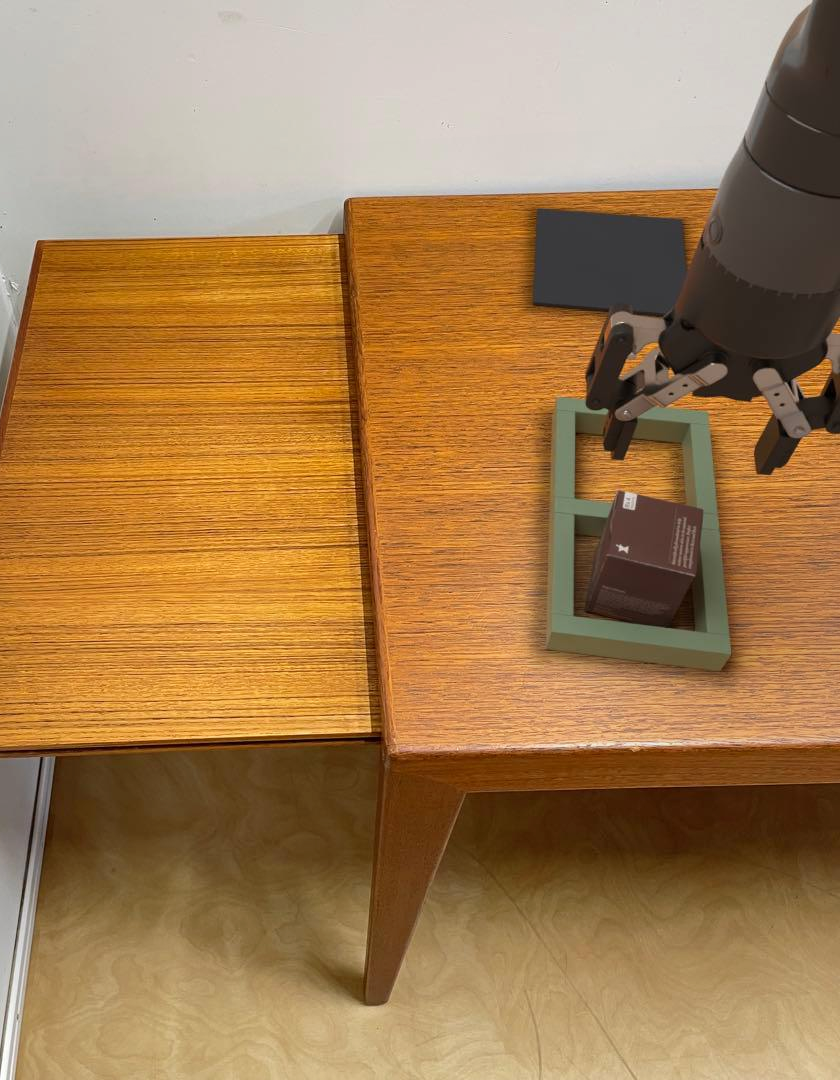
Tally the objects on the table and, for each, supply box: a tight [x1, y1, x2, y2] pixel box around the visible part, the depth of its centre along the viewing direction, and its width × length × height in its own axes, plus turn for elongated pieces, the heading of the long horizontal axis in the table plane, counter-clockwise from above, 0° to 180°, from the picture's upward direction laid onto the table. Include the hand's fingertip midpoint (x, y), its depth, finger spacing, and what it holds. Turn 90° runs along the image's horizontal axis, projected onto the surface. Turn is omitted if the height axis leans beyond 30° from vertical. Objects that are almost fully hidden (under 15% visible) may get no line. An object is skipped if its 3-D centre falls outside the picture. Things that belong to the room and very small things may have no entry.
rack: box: [545, 396, 732, 672], centre depth 75 cm, size 22×12×2 cm, turn 170°
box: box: [584, 490, 703, 628], centre depth 70 cm, size 6×6×7 cm
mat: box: [532, 208, 688, 317], centre depth 94 cm, size 14×14×1 cm
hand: (687, 456), depth 60 cm, fingers open, 8 cm apart
